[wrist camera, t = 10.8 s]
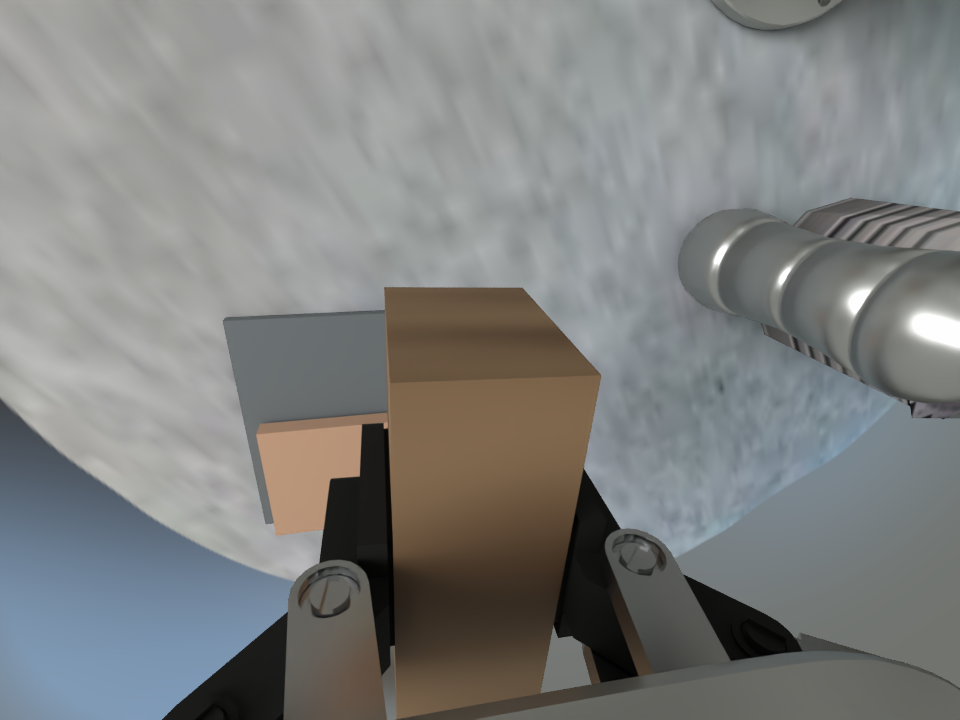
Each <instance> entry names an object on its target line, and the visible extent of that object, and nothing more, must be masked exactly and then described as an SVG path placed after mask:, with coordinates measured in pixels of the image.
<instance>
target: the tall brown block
mask: <svg viewBox="0 0 960 720" xmlns="http://www.w3.org/2000/svg"><path fill="white" fill-rule="evenodd" d="M384 292H385V334H386V376H387V418H388V438H389V461H390V485H391V508H392V532H393V568H394V616H395V646H390V659H391V666H390V667H389V668H388V669H387V670H386V671H385V673H384V674H383V675H382V676H381V677H382V684H383V692H384V699H385V707H386V715H387V720H395V719H401V718H406V717H412V716H417V715H423V714H429V713H434V712H440V711H445V710H451V709H456V708H462V707H467V706H473V705H478V704H484V703H489V702H495V701H501V700H506V699H512V698H518V697H523V696H529V695H535V694H540V692H541V687H542V681H543V676H544V671H545V666H546V661H547V655H548V650H549V645H550V639H551V635H552V629H553V624H554V619H555V614H556V609H557V603H558V598H559V593H560V588H561V583H562V577H563V572H564V567H565V562H566V557H567V551H568V546H569V541H570V536H571V531H572V525H573V520H574V515H575V510H576V505H577V499H578V494H579V489H580V484H581V479H582V473H583V468H584V463H585V458H586V453H587V447H588V442H589V437H590V432H591V427H592V421H593V416H594V411H595V406H596V401H597V395H598V390H599V385H600V380H601V374H600V373H599V372H598V371H597V370H596V369H595V368H594V367H593V366H592V364H591V363H590V362H589V361H588V360H587V359H586V358H585V357H584V356H583V354H582V353H581V352H580V351H579V350H578V349H577V348H576V347H575V346H574V344H573V343H572V342H571V341H570V340H569V339H568V338H567V337H566V336H565V335H564V333H563V332H562V331H561V330H560V329H559V328H558V327H557V326H556V325H555V323H554V322H553V321H552V320H551V319H550V318H549V317H548V316H547V315H546V313H545V312H544V311H543V310H542V309H541V308H540V307H539V306H538V305H537V304H536V302H535V301H534V300H533V299H532V298H531V297H530V296H529V295H528V294H527V292H526V291H525V290H524V289H523V288H414V287H384Z"/></svg>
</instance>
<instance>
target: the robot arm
mask: <svg viewBox="0 0 960 720" xmlns="http://www.w3.org/2000/svg"><path fill="white" fill-rule="evenodd" d="M842 1H843V0H712V2H713V3H714V4H715V5H716V6H717V7H718V8H719V9H720V10H721V11H722V12H723V13H724V14H726V15H727V16H728V17H729V18H731V19H733V20H735V21H736V22H738V23H740V24H742V25H744V26H747V27H751V28H756V29H760V30H775V29H784V28H787V27H791V26H795V25H800V24H803V23H805V22H808V21H810V20H812V19H815V18H817V17H820V16H822V15H823V14H825V13H826V12H827V11H829V10H830V9H832V8H833V7H835V6H836V5H838V4H839V3H841V2H842ZM553 625H554V628H555V630H556V633H557V636H558V638H561V637H568V636H573V638H575V639H576V640H578V641H580V642H581V643H582V649H583V654H584V658H585V662H586V665H587V669H588V672H589V676H590V680H591V684H592V685H586V686H581V687H574V688H569V689H563V690H557V691H552V692H546V693H540V694H535V695H529V696H523V697H518V698H512V699H506V700H501V701H495V702H489V703H484V704H478V705H473V706H467V707H462V708H456V709H451V710H445V711H440V712H434V713H429V714H423V715H417V716H412V717H406V718H401V719H395V720H960V688H959V687H957V686H956V685H954V684H953V683H951V682H950V681H948V680H946V679H944V678H942V677H940V676H938V675H936V674H935V673H932V672H930V671H927V670H925V669H922V668H920V667H917V666H914V665H911V664H908V663H904V662H901V661H896V660H892V659H888V658H884V657H880V656H877V655H874V654H870V653H867V652H864V651H860V650H857V649H853V648H850V647H847V646H843V645H839V644H836V643H833V642H830V641H826V640H823V639H819V638H816V637H813V636H809V635H806V634H803V633H799V635H798V637H797V638H794V637H793V635H792V634H791V633H790V632H789V631H788V630H787V629H786V628H785V627H784V626H783V625H781V624H780V623H779V622H778V621H776V620H774V619H773V618H771V617H769V616H768V615H766V614H764V613H762V612H760V611H758V610H756V609H754V608H752V607H750V606H747V605H745V604H743V603H741V602H739V601H737V600H735V599H733V598H731V597H729V596H727V595H725V594H723V593H721V592H719V591H716V590H714V589H712V588H710V587H708V586H706V585H704V584H702V583H700V582H698V581H696V580H694V579H692V578H690V577H688V576H685V575H683V574H682V572H681V570H680V568H679V566H678V564H677V563H676V561H675V559H674V557H673V555H672V554H671V552H670V551H669V549H668V548H667V547H666V545H665V544H663V543H662V542H661V541H660V540H659V539H657V538H656V537H654V536H652V535H650V534H648V533H646V532H643V531H640V530H636V529H620V527H619V525H618V524H617V522H616V520H615V519H614V517H613V516H612V514H611V512H610V511H609V509H608V507H607V506H606V504H605V502H604V501H603V499H602V497H601V496H600V494H599V493H598V491H597V489H596V488H595V486H594V484H593V483H592V481H591V479H590V478H589V476H588V475H587V473H586V471H585V470H584V468H583V473H582V479H581V484H580V489H579V494H578V499H577V505H576V510H575V515H574V520H573V525H572V531H571V536H570V541H569V546H568V551H567V557H566V562H565V567H564V572H563V577H562V583H561V588H560V593H559V598H558V603H557V609H556V614H555V619H554V624H553ZM390 646H395V616H394V568H393V532H392V508H391V485H390V461H389V438H388V428H385V429H384V423H372V424H362V434H361V457H360V476H358V477H345V478H331V479H330V484H329V491H328V499H327V507H326V515H325V523H324V530H323V538H322V546H321V554H320V562H319V564H316V565H314V566H313V567H311V568H309V569H308V570H306V571H305V572H304V573H303V574H302V575H301V576H299V577H298V578H297V580H296V581H295V583H294V585H293V586H292V588H291V590H290V595H289V599H288V612H287V613H286V614H285V615H283V616H282V617H281V618H280V619H279V620H277V621H276V622H275V623H274V624H273V625H271V626H270V627H269V628H268V629H267V630H265V631H264V632H263V633H262V634H261V635H260V636H258V637H257V638H256V639H255V640H254V641H252V642H251V643H250V644H249V645H248V646H247V647H245V648H244V649H243V650H242V651H241V652H239V653H238V654H237V655H236V656H235V657H233V658H232V659H231V660H230V661H229V662H227V663H226V664H225V665H224V666H223V667H222V668H220V669H219V670H218V671H217V672H216V673H214V674H213V675H212V676H211V677H210V678H209V679H207V680H206V681H205V682H204V683H202V684H201V685H200V686H199V687H198V688H197V689H195V690H194V691H193V692H192V693H191V694H189V695H188V696H187V697H186V698H185V699H183V700H182V701H181V702H180V703H179V704H177V705H176V706H175V707H174V708H173V709H172V710H171V711H170V712H169V713H168V714H167V715H166V716H165V717H164V718H163V719H162V720H387V715H386V707H385V699H384V692H383V684H382V677H381V676H382V675H383V674H384V673H385V671H386V670H387V669H388V668H389V667H390V666H391V659H390Z"/></svg>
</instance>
